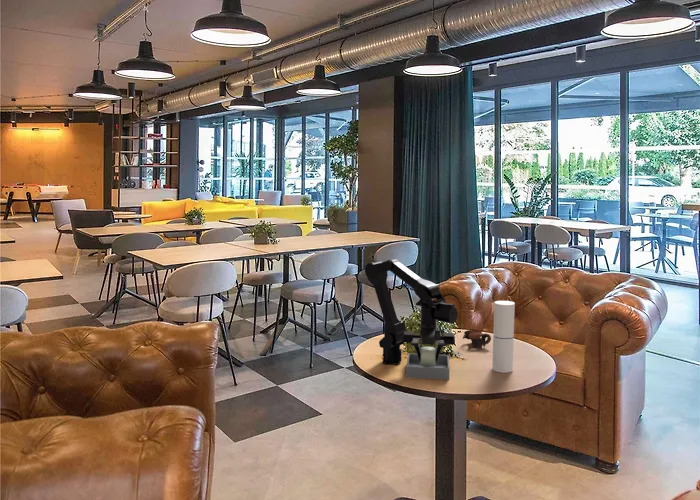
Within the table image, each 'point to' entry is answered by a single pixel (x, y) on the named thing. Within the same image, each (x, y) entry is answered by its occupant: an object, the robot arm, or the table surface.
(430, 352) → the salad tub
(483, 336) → the pottery mug
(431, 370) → the bin
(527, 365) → the table surface
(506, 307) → the cylindrical container
